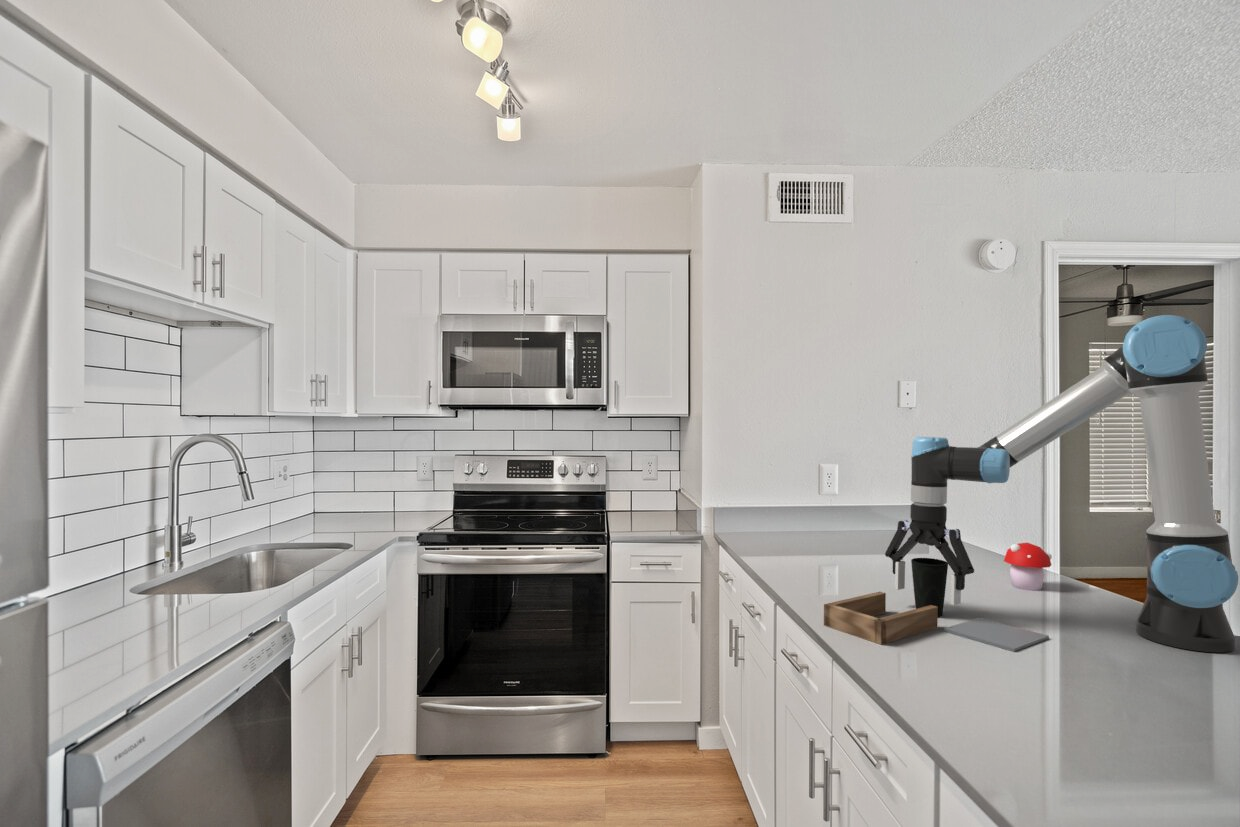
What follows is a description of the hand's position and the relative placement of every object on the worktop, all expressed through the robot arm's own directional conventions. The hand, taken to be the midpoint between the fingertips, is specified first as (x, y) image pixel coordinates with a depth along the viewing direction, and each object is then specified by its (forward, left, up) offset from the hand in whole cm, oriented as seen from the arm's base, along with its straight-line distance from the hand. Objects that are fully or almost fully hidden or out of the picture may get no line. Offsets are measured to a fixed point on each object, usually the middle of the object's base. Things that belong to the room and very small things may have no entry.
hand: (926, 596), depth 148 cm
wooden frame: (0, +18, -4) cm, 18 cm away
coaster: (-16, +2, -4) cm, 17 cm away
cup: (-1, 0, -4) cm, 4 cm away
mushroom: (-1, -45, -4) cm, 45 cm away
